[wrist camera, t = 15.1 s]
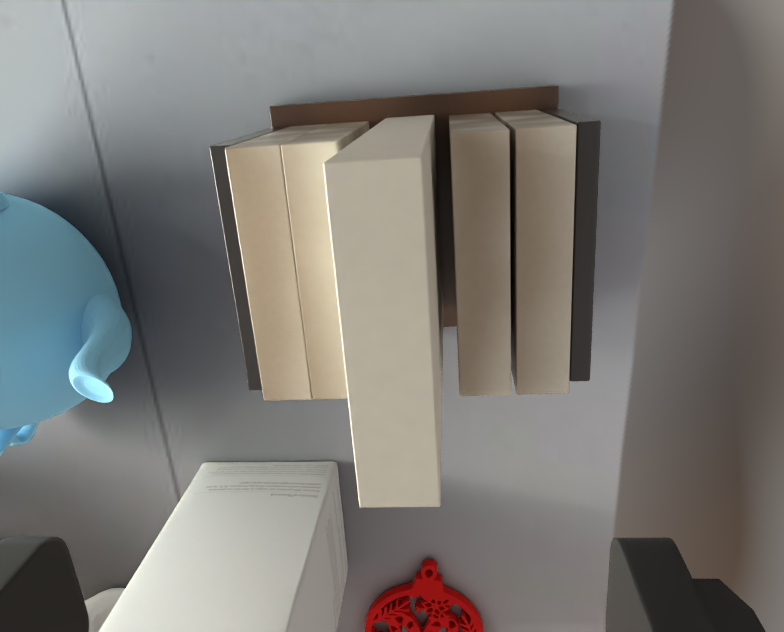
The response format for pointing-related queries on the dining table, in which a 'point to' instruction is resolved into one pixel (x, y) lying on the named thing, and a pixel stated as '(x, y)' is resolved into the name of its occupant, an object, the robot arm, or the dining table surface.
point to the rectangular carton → (244, 554)
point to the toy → (101, 607)
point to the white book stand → (457, 238)
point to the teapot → (52, 320)
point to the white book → (390, 307)
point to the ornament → (424, 606)
